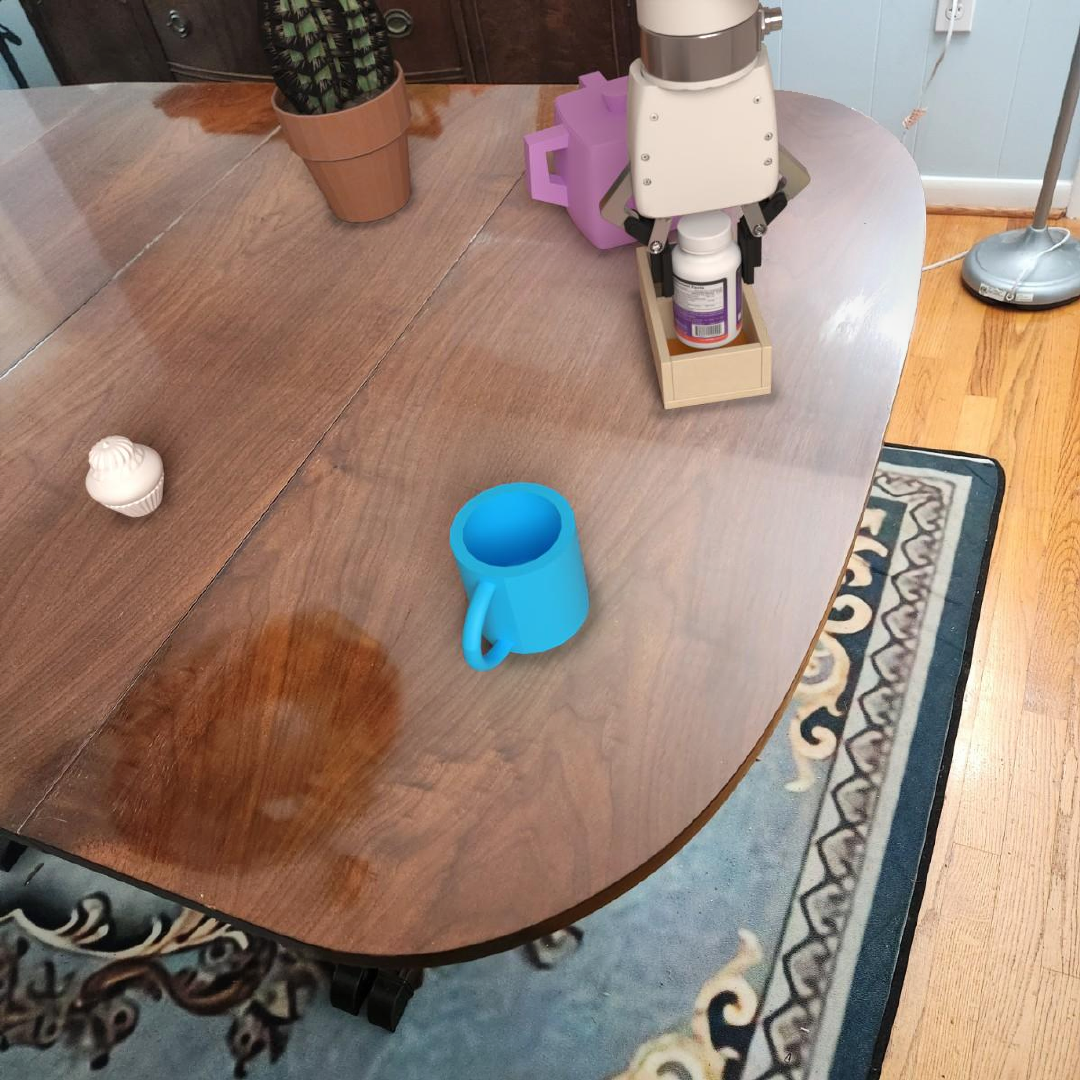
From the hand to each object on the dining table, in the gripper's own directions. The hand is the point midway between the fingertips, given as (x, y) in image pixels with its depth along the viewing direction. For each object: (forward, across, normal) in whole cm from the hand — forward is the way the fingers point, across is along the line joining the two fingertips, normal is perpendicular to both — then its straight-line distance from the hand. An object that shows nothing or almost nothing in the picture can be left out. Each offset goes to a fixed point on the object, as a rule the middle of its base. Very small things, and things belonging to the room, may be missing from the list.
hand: (706, 278), depth 77 cm
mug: (+9, +17, +24) cm, 31 cm away
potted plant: (+9, +31, -37) cm, 49 cm away
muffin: (+9, +48, +6) cm, 49 cm away
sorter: (+9, 0, -4) cm, 10 cm away
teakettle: (+9, +3, -27) cm, 29 cm away
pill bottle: (+5, 0, 0) cm, 5 cm away
